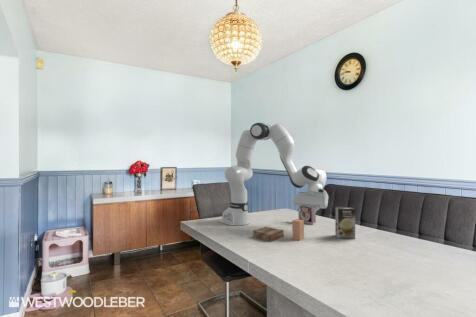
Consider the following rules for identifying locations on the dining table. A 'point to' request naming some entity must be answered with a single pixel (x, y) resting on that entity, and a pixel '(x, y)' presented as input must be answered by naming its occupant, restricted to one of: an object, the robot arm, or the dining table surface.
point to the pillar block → (298, 229)
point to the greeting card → (307, 215)
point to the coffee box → (345, 222)
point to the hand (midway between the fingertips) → (305, 211)
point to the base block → (268, 234)
